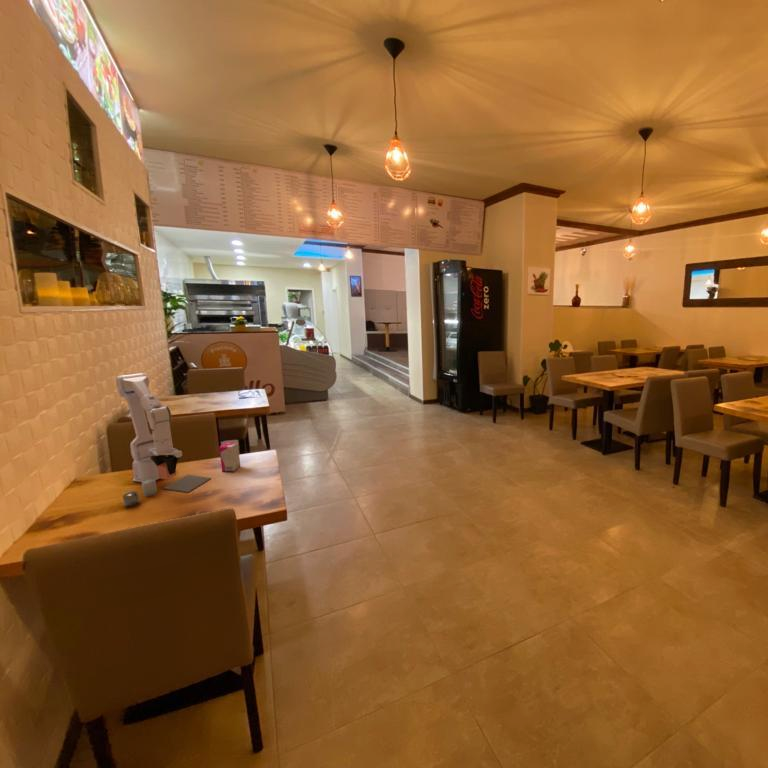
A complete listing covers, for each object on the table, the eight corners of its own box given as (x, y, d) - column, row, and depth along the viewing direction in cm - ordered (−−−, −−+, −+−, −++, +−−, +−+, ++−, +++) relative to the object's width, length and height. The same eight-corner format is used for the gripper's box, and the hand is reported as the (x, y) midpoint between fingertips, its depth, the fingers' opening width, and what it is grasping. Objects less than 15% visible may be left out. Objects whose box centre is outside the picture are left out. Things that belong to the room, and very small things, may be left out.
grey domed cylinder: (140, 495, 138) (138, 483, 137) (151, 489, 142) (149, 478, 141) (149, 497, 137) (147, 484, 136) (159, 491, 141) (158, 479, 140)
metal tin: (121, 506, 130) (119, 496, 129) (133, 500, 134) (131, 490, 133) (130, 508, 129) (129, 498, 128) (142, 502, 133) (140, 492, 132)
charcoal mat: (163, 488, 142) (163, 488, 142) (187, 475, 154) (187, 474, 154) (188, 492, 139) (187, 491, 139) (210, 478, 150) (210, 477, 150)
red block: (159, 478, 136) (157, 465, 135) (168, 473, 140) (166, 461, 139) (167, 479, 135) (165, 467, 134) (176, 474, 139) (174, 462, 138)
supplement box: (240, 466, 162) (238, 442, 159) (234, 472, 156) (231, 447, 154) (228, 466, 162) (225, 441, 160) (221, 472, 156) (218, 447, 154)
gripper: (137, 440, 133) (143, 474, 136) (168, 444, 129) (173, 479, 132) (154, 434, 140) (160, 467, 143) (184, 437, 135) (189, 471, 138)
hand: (167, 472), depth 138 cm, fingers closed on red block, 4 cm apart
